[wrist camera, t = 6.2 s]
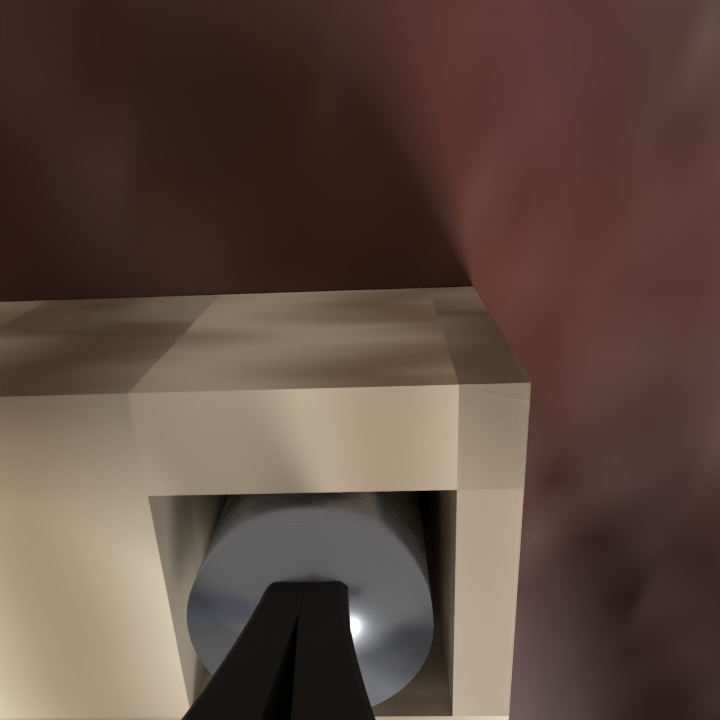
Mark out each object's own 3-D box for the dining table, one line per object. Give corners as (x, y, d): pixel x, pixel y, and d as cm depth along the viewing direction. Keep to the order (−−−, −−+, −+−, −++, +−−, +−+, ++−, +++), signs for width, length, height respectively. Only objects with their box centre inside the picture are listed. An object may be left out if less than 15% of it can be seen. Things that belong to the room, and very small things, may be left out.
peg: (257, 534, 17) (204, 717, 12) (240, 390, 15) (168, 527, 10) (416, 531, 17) (433, 716, 11) (414, 385, 15) (434, 522, 10)
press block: (-85, 587, 19) (-281, 782, 13) (-191, 308, 16) (-511, 410, 10) (465, 579, 18) (504, 781, 13) (473, 286, 15) (531, 382, 9)
